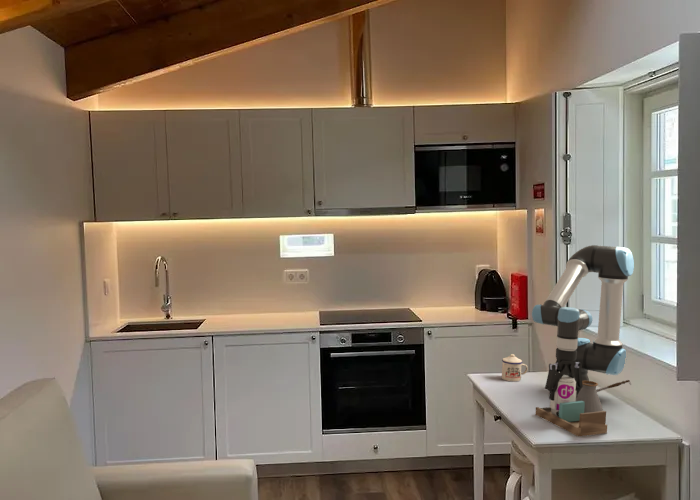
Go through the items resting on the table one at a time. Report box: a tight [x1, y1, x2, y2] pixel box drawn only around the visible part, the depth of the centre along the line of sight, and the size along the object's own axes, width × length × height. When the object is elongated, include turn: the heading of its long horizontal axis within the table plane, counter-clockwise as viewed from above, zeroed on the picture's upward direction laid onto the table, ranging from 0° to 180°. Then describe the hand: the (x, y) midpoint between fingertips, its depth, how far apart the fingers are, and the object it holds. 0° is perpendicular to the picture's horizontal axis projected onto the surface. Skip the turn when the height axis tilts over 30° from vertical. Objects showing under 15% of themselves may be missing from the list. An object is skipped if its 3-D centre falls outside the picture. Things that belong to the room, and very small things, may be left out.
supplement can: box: [551, 375, 576, 417], centre depth 246 cm, size 8×8×15 cm
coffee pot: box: [576, 379, 632, 413], centre depth 252 cm, size 21×12×15 cm, turn 83°
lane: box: [534, 406, 608, 437], centre depth 242 cm, size 24×13×8 cm, turn 21°
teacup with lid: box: [501, 353, 529, 382], centre depth 301 cm, size 12×9×12 cm
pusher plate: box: [559, 401, 585, 422], centre depth 241 cm, size 2×10×7 cm, turn 111°
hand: (562, 407), depth 246 cm, fingers closed on supplement can, 8 cm apart
